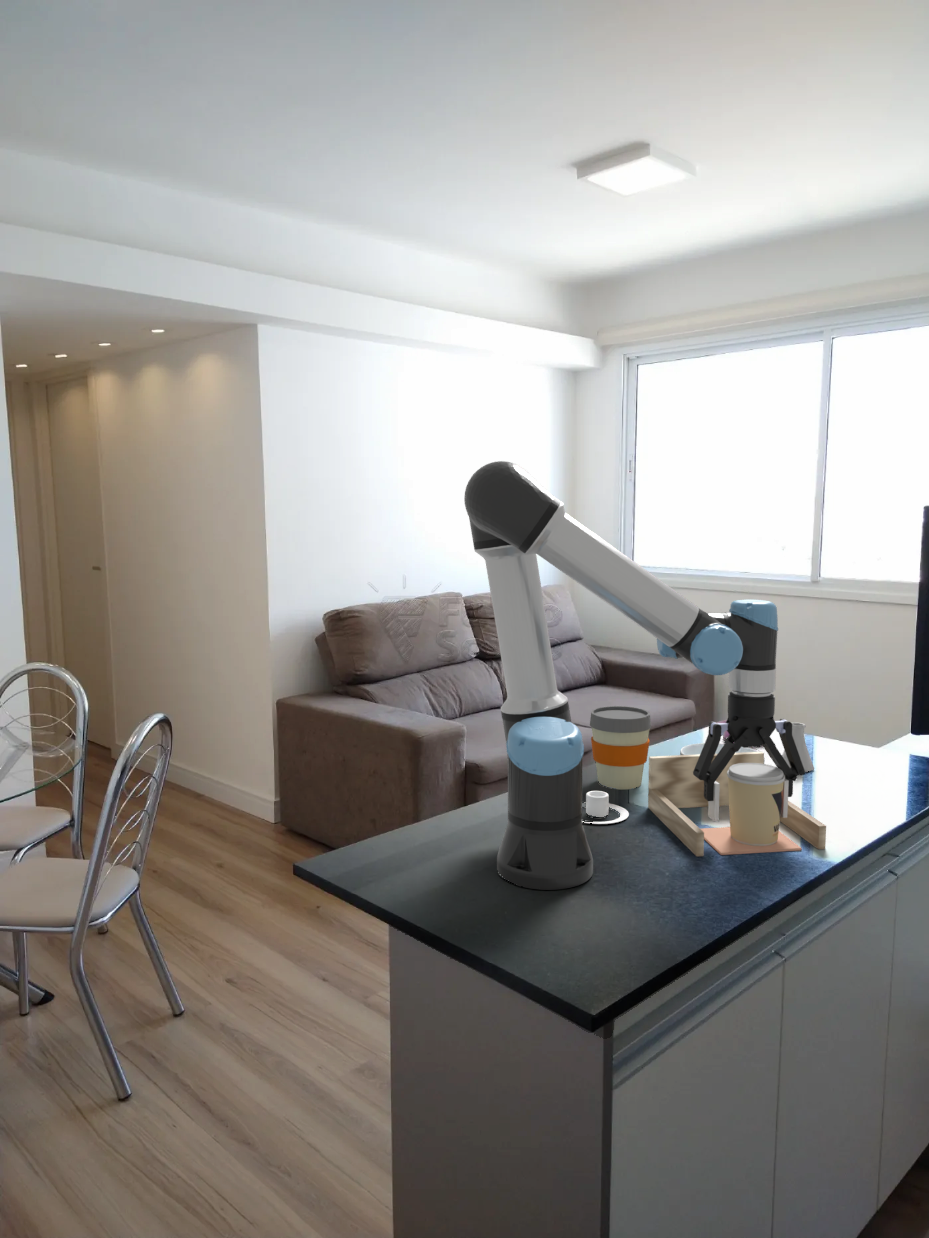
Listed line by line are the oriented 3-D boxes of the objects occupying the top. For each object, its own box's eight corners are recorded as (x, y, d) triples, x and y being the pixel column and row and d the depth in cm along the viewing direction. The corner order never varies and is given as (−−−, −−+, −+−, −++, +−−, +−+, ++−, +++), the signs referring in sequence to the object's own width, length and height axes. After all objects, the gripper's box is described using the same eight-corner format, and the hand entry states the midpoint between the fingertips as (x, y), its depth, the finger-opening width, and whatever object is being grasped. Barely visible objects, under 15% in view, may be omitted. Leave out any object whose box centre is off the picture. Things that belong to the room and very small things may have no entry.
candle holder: (575, 829, 156) (575, 806, 156) (556, 808, 168) (556, 786, 168) (638, 824, 159) (639, 802, 158) (615, 803, 170) (615, 782, 170)
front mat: (721, 854, 143) (721, 852, 143) (695, 831, 154) (695, 828, 154) (801, 850, 145) (801, 847, 145) (770, 826, 156) (770, 824, 156)
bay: (696, 856, 143) (697, 797, 142) (648, 807, 167) (648, 756, 166) (825, 848, 146) (827, 790, 144) (759, 801, 169) (761, 751, 168)
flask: (771, 765, 193) (772, 721, 192) (798, 762, 196) (799, 719, 194) (793, 774, 187) (794, 729, 185) (820, 771, 189) (822, 726, 188)
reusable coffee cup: (660, 789, 177) (661, 717, 176) (601, 794, 175) (602, 721, 173) (636, 771, 190) (637, 704, 188) (581, 775, 187) (581, 707, 185)
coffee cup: (787, 849, 144) (789, 779, 143) (728, 846, 146) (730, 777, 145) (778, 829, 153) (780, 763, 152) (722, 826, 155) (724, 761, 154)
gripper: (807, 685, 152) (802, 806, 154) (675, 689, 149) (672, 812, 151) (830, 694, 144) (824, 820, 147) (691, 699, 141) (688, 828, 144)
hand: (747, 816), depth 149 cm, fingers open, 11 cm apart
